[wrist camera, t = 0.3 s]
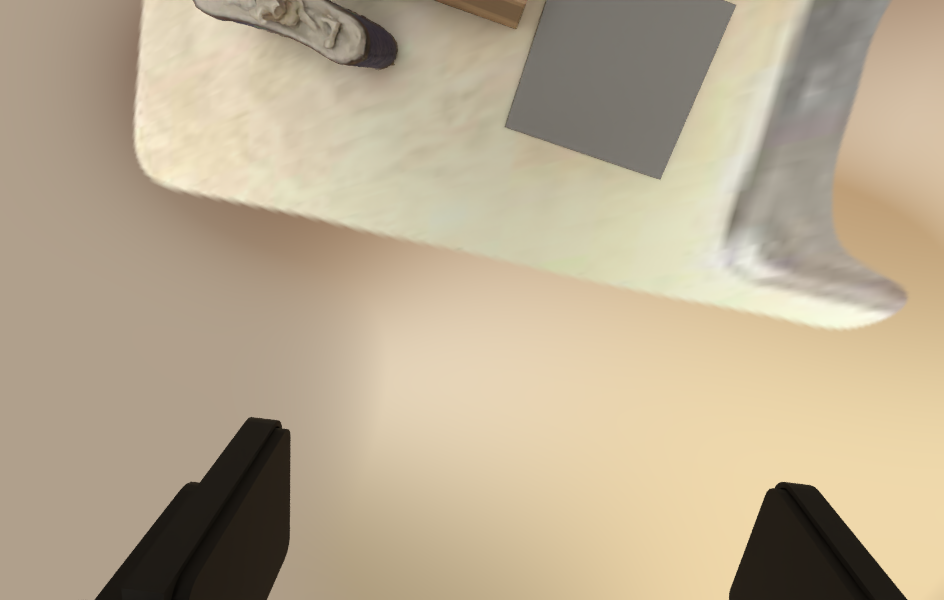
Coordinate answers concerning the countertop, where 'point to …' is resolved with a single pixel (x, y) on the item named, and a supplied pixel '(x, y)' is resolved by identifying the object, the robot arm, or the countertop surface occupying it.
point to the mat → (618, 76)
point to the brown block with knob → (492, 9)
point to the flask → (313, 28)
